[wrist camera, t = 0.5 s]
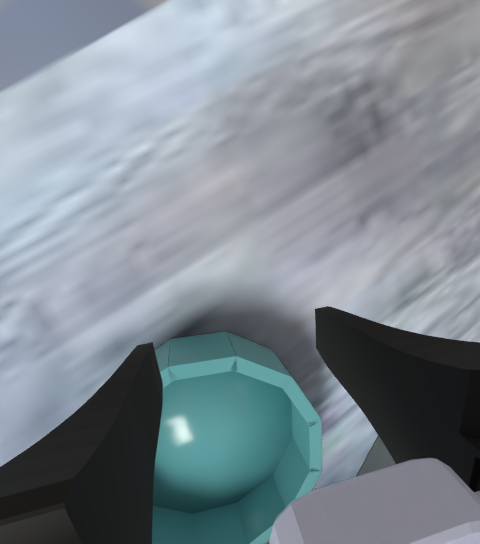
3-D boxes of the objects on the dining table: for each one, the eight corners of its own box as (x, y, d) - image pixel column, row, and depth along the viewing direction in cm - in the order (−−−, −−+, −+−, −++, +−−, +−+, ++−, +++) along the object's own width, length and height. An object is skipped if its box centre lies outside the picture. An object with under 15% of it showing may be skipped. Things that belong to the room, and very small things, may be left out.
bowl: (248, 524, 27) (262, 583, 22) (68, 487, 22) (41, 551, 18) (328, 371, 26) (358, 402, 21) (155, 303, 21) (148, 323, 17)
